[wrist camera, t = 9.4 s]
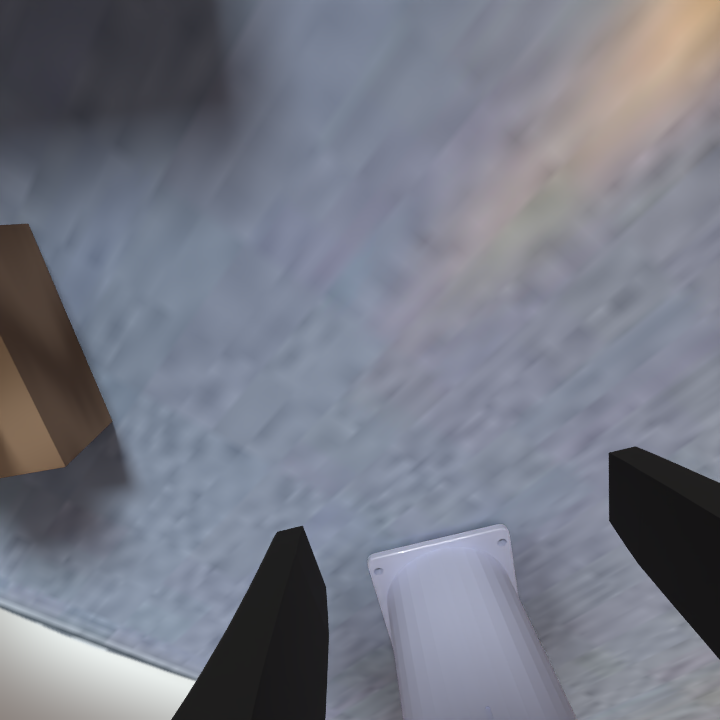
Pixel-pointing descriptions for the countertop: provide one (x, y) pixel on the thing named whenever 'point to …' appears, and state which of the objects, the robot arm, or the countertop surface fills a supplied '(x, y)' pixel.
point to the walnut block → (40, 367)
